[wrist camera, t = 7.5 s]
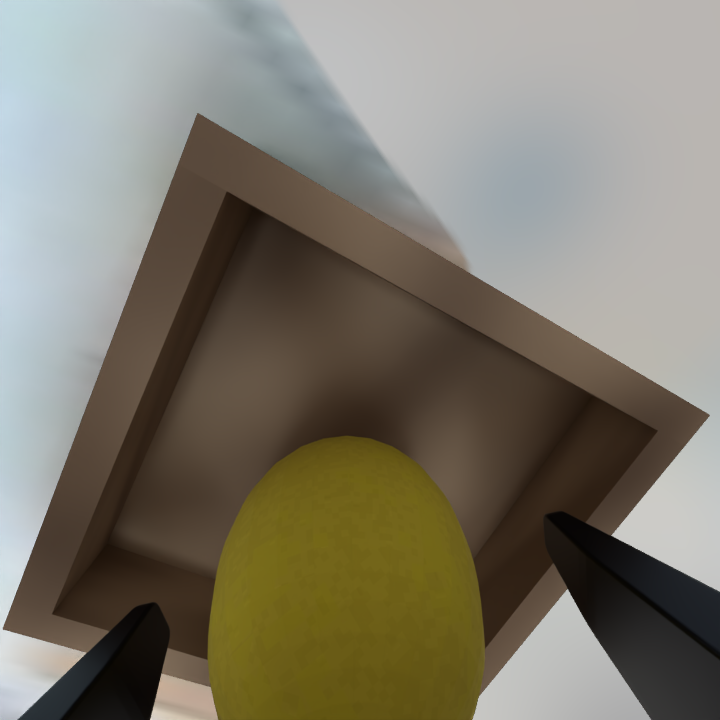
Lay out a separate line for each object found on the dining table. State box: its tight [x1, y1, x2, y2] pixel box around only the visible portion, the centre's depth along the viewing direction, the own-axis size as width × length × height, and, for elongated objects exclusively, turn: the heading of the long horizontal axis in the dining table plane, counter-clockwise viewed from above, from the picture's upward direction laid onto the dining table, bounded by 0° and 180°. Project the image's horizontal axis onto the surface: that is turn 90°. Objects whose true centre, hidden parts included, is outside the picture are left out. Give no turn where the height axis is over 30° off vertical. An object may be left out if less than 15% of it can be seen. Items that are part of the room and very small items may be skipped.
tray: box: [3, 113, 710, 696], centre depth 11 cm, size 14×14×4 cm
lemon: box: [208, 436, 485, 720], centre depth 8 cm, size 6×6×8 cm
